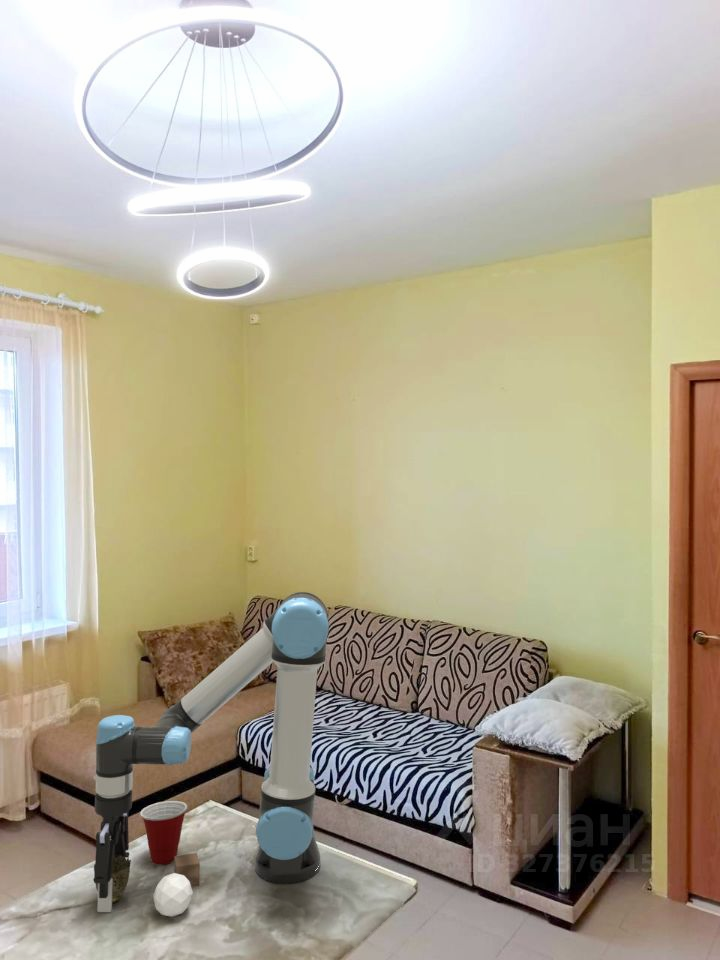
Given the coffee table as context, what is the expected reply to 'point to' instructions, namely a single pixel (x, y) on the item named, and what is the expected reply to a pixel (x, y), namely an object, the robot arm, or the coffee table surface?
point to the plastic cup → (163, 829)
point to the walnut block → (188, 867)
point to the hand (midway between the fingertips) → (111, 900)
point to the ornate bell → (118, 876)
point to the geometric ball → (172, 895)
